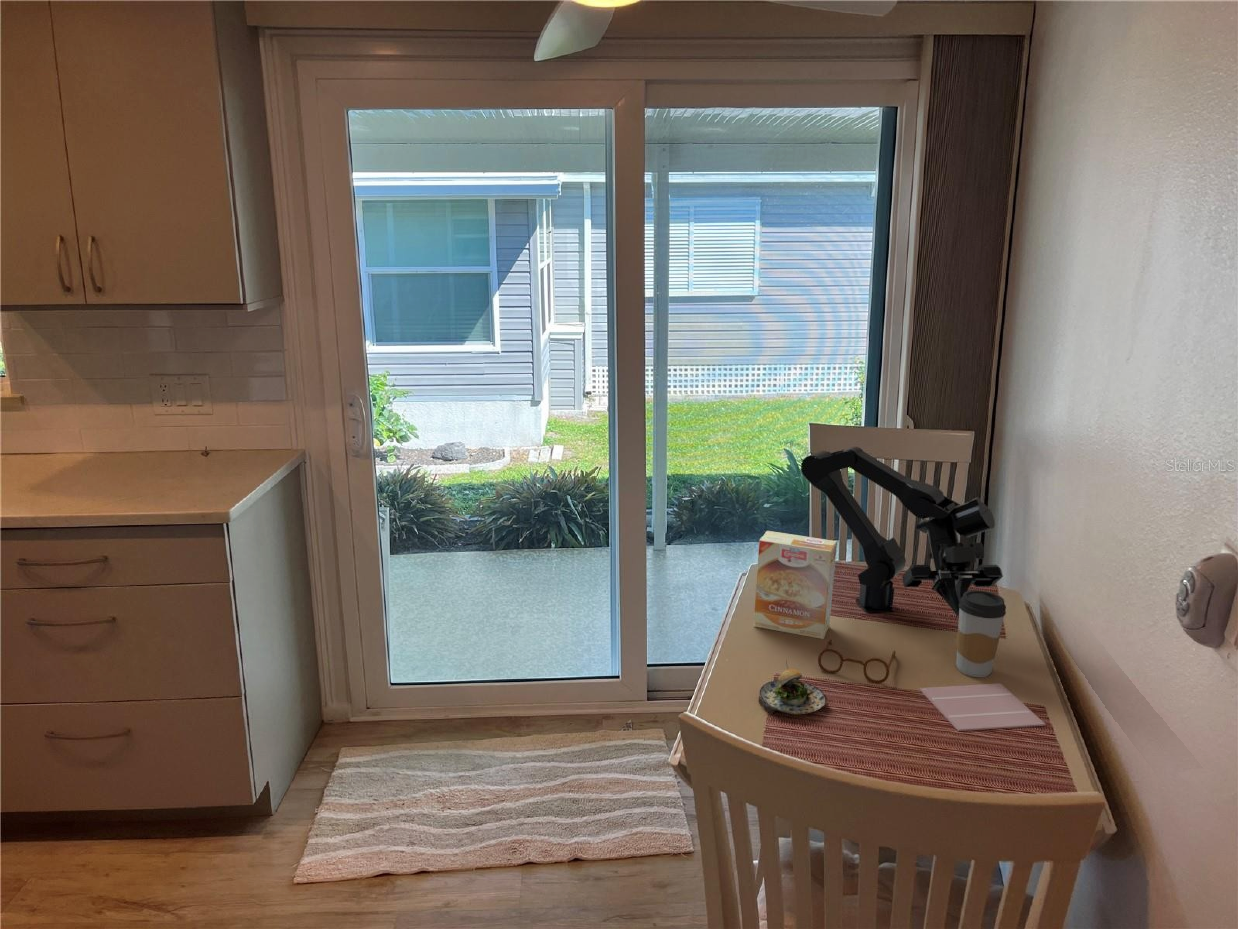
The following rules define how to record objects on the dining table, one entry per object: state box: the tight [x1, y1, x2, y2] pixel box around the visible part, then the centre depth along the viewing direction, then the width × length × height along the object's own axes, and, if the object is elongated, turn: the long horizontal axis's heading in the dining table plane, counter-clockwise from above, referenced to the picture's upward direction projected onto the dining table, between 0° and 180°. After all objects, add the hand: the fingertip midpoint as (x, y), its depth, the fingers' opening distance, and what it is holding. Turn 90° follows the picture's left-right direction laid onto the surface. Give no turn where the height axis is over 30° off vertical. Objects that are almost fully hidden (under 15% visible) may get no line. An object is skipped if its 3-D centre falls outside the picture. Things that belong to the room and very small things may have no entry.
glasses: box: [817, 638, 896, 685], centre depth 173 cm, size 13×13×5 cm
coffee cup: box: [955, 589, 1007, 678], centre depth 170 cm, size 8×8×15 cm
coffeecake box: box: [753, 530, 838, 640], centre depth 187 cm, size 15×7×20 cm, turn 68°
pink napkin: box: [919, 683, 1046, 732], centre depth 159 cm, size 16×14×1 cm
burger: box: [758, 659, 828, 715], centre depth 158 cm, size 12×12×8 cm
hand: (960, 615), depth 178 cm, fingers closed
